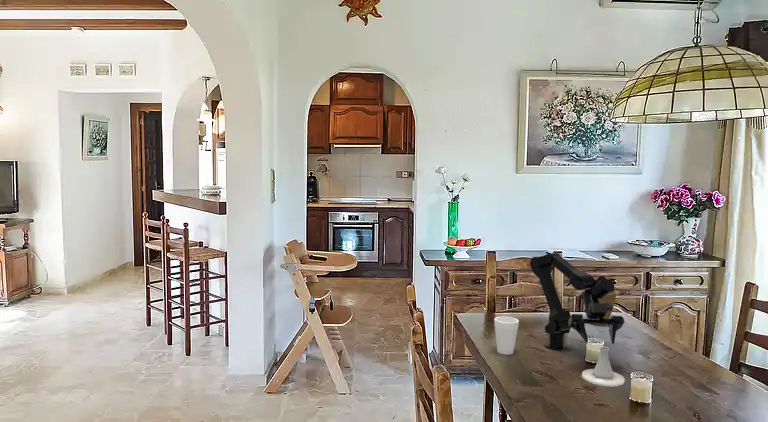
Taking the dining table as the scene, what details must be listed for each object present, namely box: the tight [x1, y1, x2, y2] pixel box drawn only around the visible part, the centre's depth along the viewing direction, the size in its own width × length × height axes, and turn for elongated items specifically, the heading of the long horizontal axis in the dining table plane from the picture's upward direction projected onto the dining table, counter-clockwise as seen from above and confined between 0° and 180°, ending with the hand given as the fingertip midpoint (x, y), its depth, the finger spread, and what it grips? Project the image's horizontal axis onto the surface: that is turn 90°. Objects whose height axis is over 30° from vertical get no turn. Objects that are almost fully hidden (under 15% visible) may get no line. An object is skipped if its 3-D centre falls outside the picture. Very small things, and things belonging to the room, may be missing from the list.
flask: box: [592, 346, 614, 379], centre depth 199 cm, size 7×7×10 cm
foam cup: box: [493, 316, 520, 356], centre depth 225 cm, size 10×9×13 cm
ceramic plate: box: [581, 368, 626, 388], centre depth 199 cm, size 14×14×1 cm
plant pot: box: [582, 289, 618, 327], centre depth 267 cm, size 15×15×16 cm
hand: (600, 342), depth 203 cm, fingers open, 9 cm apart
